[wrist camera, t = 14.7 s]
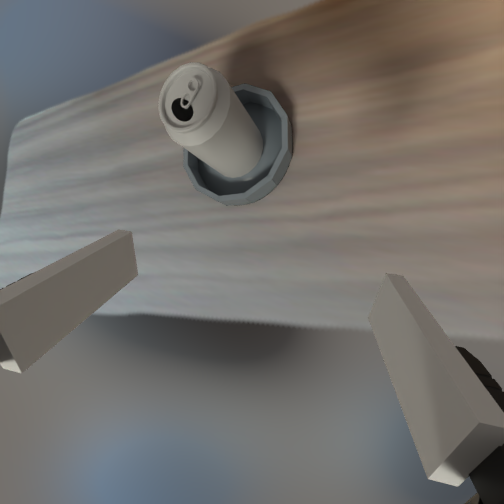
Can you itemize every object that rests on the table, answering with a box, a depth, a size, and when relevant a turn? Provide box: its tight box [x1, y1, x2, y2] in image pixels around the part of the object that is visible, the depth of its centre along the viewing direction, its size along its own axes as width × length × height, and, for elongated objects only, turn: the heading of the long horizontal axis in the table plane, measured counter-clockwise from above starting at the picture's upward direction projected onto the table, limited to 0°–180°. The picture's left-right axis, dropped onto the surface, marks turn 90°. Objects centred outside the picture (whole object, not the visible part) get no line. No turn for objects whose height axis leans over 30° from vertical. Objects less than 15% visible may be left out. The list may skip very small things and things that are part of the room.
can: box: [159, 63, 263, 178], centre depth 27 cm, size 8×8×12 cm
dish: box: [184, 83, 293, 206], centre depth 31 cm, size 14×14×3 cm
